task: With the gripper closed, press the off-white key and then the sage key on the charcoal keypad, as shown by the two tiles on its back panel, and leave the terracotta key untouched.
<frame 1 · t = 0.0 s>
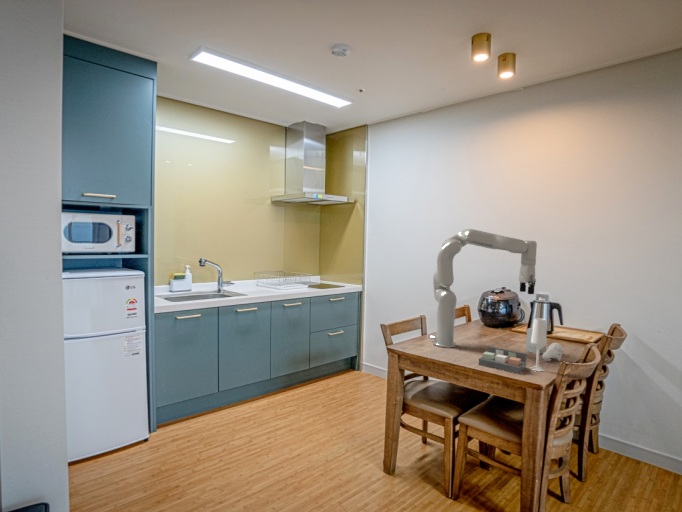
hand: (526, 292, 227), 31 cm above the table, tool pointing down, fingers open, 9 cm apart
white animal figurine: (551, 360, 204), on the table
off-white key: (501, 358, 190), point 4 cm above the table, slide at 0.0 cm
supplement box: (535, 352, 219), on the table
champagne flute: (537, 370, 189), on the table
sage key: (488, 356, 194), point 4 cm above the table, slide at 0.0 cm
terracotta key: (514, 361, 187), point 4 cm above the table, slide at 0.0 cm
keypad: (502, 366, 192), on the table
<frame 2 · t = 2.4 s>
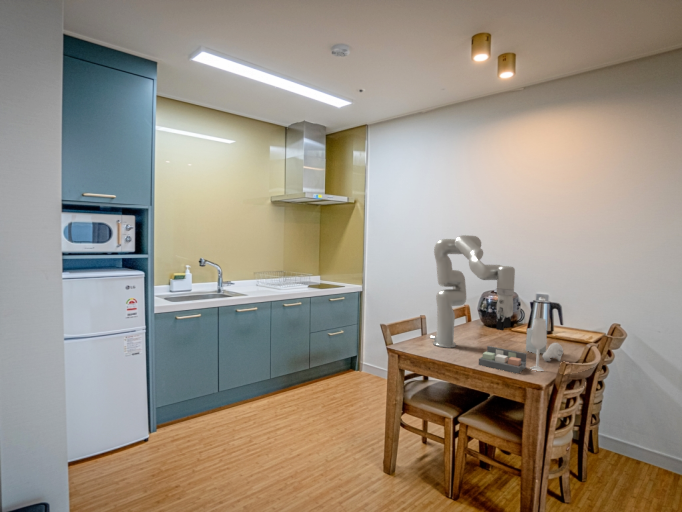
hand: (503, 328, 190), 19 cm above the table, tool pointing down, fingers open, 9 cm apart
nothing on the table moved.
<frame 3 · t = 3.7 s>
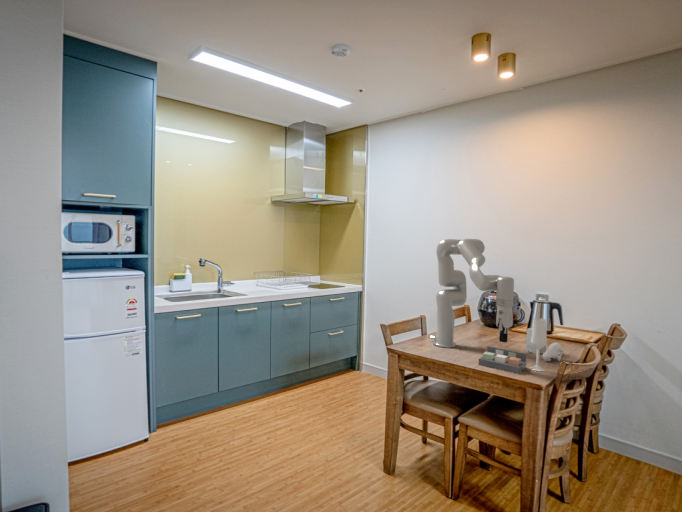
hand: (503, 341, 189), 12 cm above the table, tool pointing down, fingers closed
nothing on the table moved.
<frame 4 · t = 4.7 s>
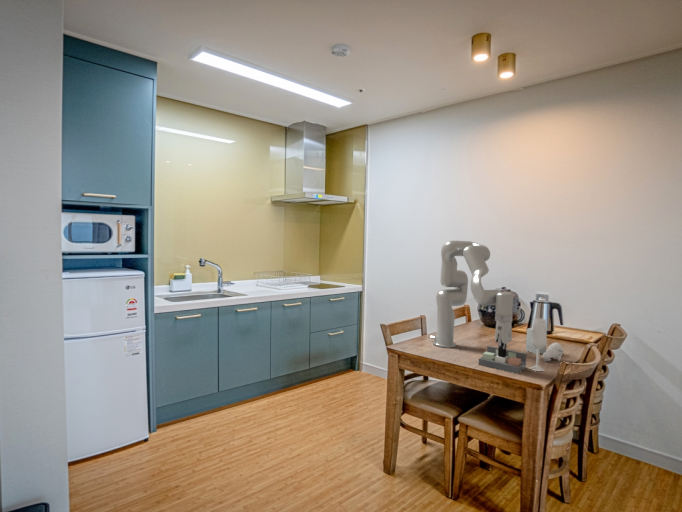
hand: (502, 356, 190), 5 cm above the table, tool pointing down, fingers closed
off-white key: (501, 359, 190), point 4 cm above the table, slide at 0.3 cm, touching gripper
everything else where it was.
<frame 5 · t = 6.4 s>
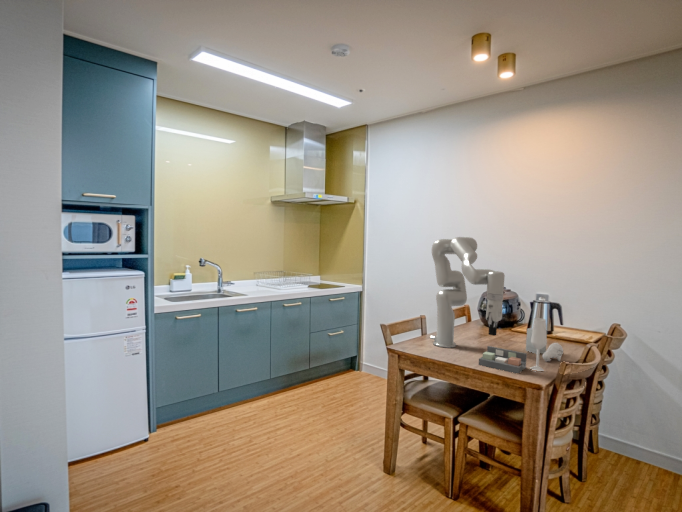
hand: (492, 334, 193), 15 cm above the table, tool pointing down, fingers closed
off-white key: (501, 361, 190), point 3 cm above the table, slide at 1.3 cm
everything else where it was.
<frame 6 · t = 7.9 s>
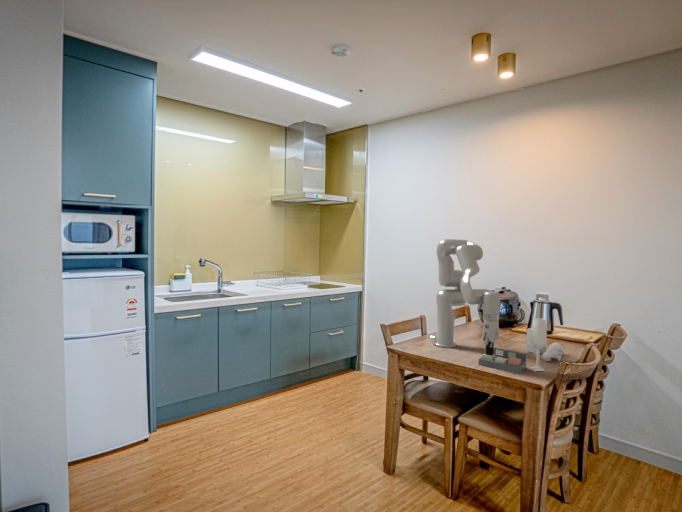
hand: (489, 354, 194), 5 cm above the table, tool pointing down, fingers closed
sage key: (488, 357, 194), point 3 cm above the table, slide at 0.6 cm, touching gripper
everything else where it was.
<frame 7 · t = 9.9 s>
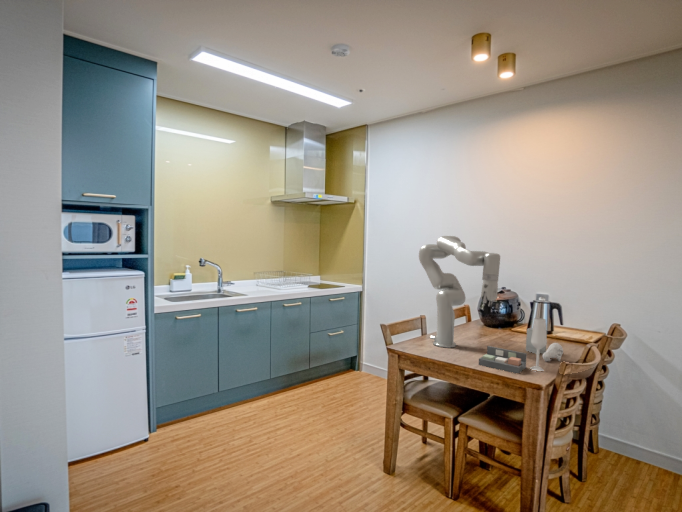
hand: (487, 313, 203), 23 cm above the table, tool pointing down, fingers closed
sage key: (488, 358, 194), point 3 cm above the table, slide at 1.3 cm
everything else where it was.
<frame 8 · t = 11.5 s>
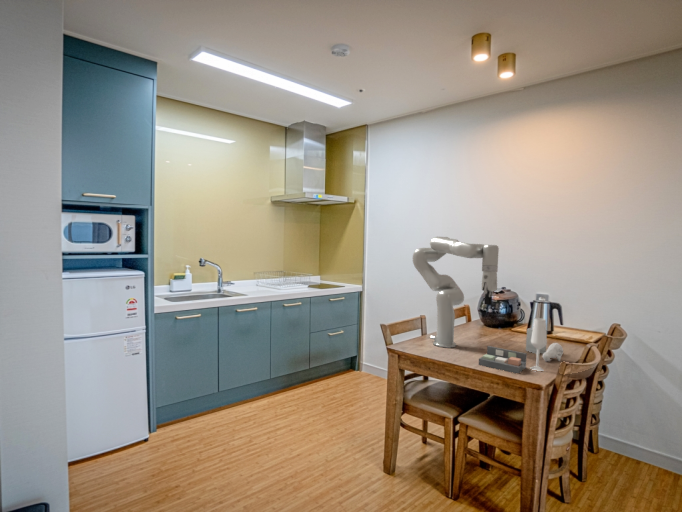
hand: (487, 304, 207), 27 cm above the table, tool pointing down, fingers closed
nothing on the table moved.
at the end: off-white key slide at 1.3 cm; sage key slide at 1.3 cm; terracotta key slide at 0.0 cm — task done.
